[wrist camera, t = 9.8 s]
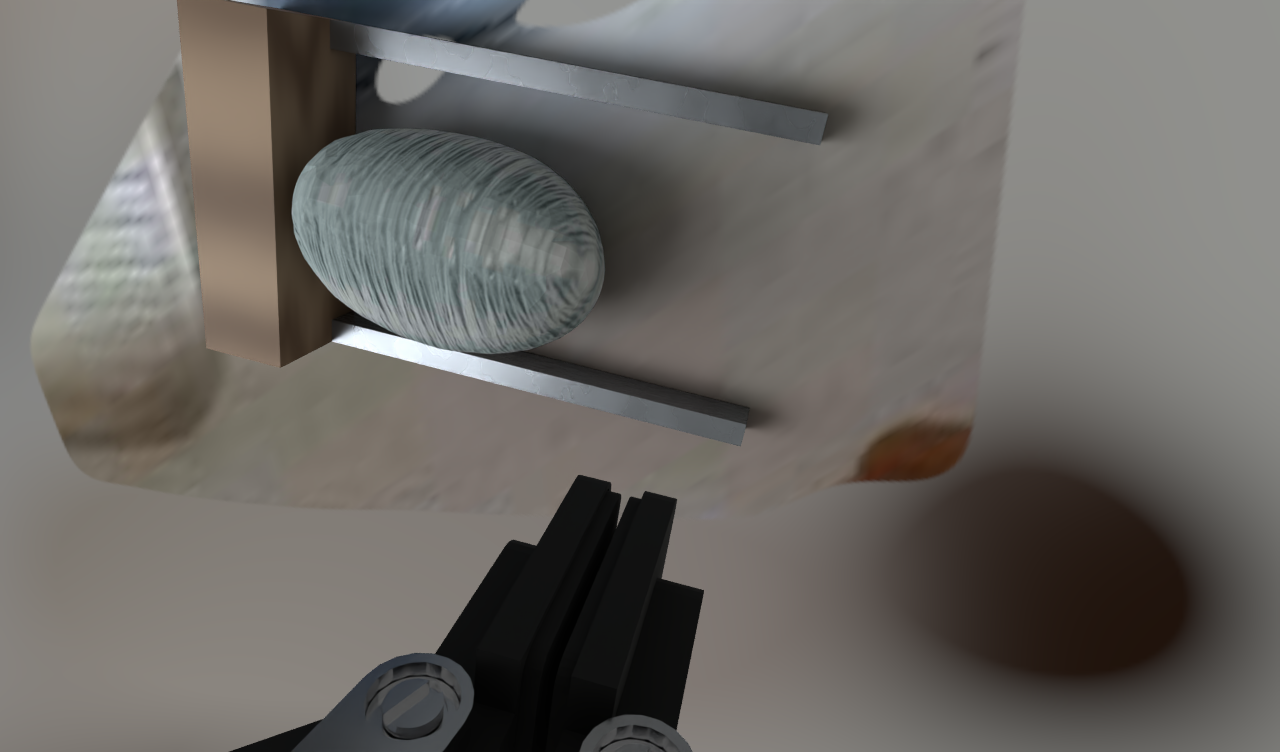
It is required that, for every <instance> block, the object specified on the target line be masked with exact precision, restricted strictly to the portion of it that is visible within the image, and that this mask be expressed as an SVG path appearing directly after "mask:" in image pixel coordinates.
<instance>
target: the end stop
mask: <svg viewBox="0 0 1280 752" xmlns="http://www.w3.org/2000/svg"><path fill="white" fill-rule="evenodd" d="M177 6H178V18H179V30H180V42H181V54H182V65H183V77H184V89H185V101H186V113H187V124H188V136H189V148H190V160H191V172H192V183H193V195H194V207H195V219H196V230H197V242H198V254H199V266H200V278H201V289H202V301H203V313H204V325H205V337H206V348H208V349H212V350H215V351H219V352H223V353H227V354H230V355H234V356H238V357H242V358H246V359H249V360H253V361H257V362H261V363H264V364H268V365H272V366H276V367H279V368H281V367H283V366H285V365H287V364H289V363H291V362H293V361H295V360H297V359H298V358H300V357H302V356H304V355H306V354H308V353H310V352H312V351H314V350H316V349H318V348H320V347H322V346H324V345H326V344H327V343H329V342H331V341H332V320H333V319H335V318H337V317H339V316H341V315H343V314H346V313H348V312H350V311H352V309H351V308H349V307H348V306H347V305H345V304H344V303H343V302H341V301H340V300H339V299H338V298H336V297H335V296H334V295H333V294H332V293H331V292H330V291H329V290H328V289H327V287H326V286H325V285H324V284H323V282H322V281H321V280H320V279H319V277H318V276H317V275H316V274H315V272H314V271H313V270H312V268H311V267H310V265H309V264H308V263H307V261H306V260H305V258H304V257H303V254H302V252H301V250H300V247H299V245H298V242H297V240H296V237H295V234H294V224H293V219H292V201H293V194H294V189H295V186H296V183H297V181H298V178H299V176H300V174H301V173H302V171H303V169H304V168H305V166H306V165H307V163H308V162H309V161H310V160H311V159H312V158H313V157H314V156H315V155H316V154H317V153H318V152H319V151H320V150H321V149H323V148H324V147H326V146H327V145H329V144H330V143H332V142H333V141H335V140H338V139H341V138H344V137H347V136H351V135H355V134H356V54H355V53H350V52H344V51H339V50H334V49H330V19H331V18H326V17H320V16H315V15H310V14H305V13H299V12H294V11H289V10H284V9H278V8H272V7H266V6H260V5H255V4H249V3H243V2H237V1H231V0H177ZM333 20H336V19H333ZM339 21H341V20H339ZM345 22H347V21H345ZM351 23H352V22H351Z"/></svg>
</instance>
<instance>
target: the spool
mask: <svg viewBox="0 0 1280 752" xmlns="http://www.w3.org/2000/svg"><path fill="white" fill-rule="evenodd" d="M292 219H293V224H294V234H295V237H296V240H297V242H298V245H299V247H300V250H301V252H302V254H303V257H304V258H305V260H306V261H307V263H308V264H309V265H310V267H311V268H312V270H313V271H314V272H315V274H316V275H317V276H318V277H319V279H320V280H321V281H322V282H323V284H324V285H325V286H326V287H327V289H328V290H329V291H330V292H331V293H332V294H333V295H334V296H335V297H336V298H338V299H339V300H340V301H341V302H343V303H344V304H345V305H347V306H348V307H349V308H351V309H352V310H354V311H355V312H356V313H358V314H359V315H361V316H362V317H364V318H366V319H368V320H370V321H372V322H374V323H376V324H378V325H380V326H381V327H383V328H385V329H387V330H389V331H391V332H393V333H395V334H398V335H400V336H403V337H405V338H408V339H411V340H413V341H416V342H419V343H422V344H425V345H428V346H432V347H435V348H439V349H444V350H449V351H457V352H475V353H481V354H497V353H509V352H516V351H523V350H529V349H533V348H536V347H539V346H542V345H544V344H547V343H550V342H552V341H554V340H557V339H559V338H561V337H562V336H564V335H565V334H567V333H569V332H570V331H572V330H573V329H574V328H575V327H577V326H578V325H579V324H580V323H581V322H582V321H583V320H584V319H585V318H586V316H587V315H588V314H589V313H590V311H591V310H592V309H593V307H594V305H595V303H596V302H597V300H598V298H599V295H600V292H601V289H602V286H603V281H604V274H605V263H604V252H603V246H602V243H601V238H600V233H599V230H598V228H597V225H596V223H595V221H594V219H593V217H592V215H591V214H590V212H589V210H588V208H587V207H586V205H585V204H584V202H583V201H582V199H581V198H580V197H579V196H578V194H577V193H576V192H575V191H574V190H573V189H572V187H571V186H570V185H569V184H568V183H567V182H566V181H565V180H564V179H563V178H562V177H560V176H559V175H558V174H556V173H555V172H554V171H553V170H552V169H550V168H549V167H548V166H546V165H544V164H543V163H542V162H540V161H539V160H537V159H535V158H533V157H531V156H529V155H527V154H525V153H523V152H520V151H518V150H515V149H513V148H510V147H508V146H505V145H502V144H500V143H497V142H494V141H490V140H487V139H483V138H479V137H474V136H469V135H464V134H458V133H451V132H445V131H439V130H427V129H376V130H368V131H365V132H362V133H359V134H355V135H351V136H347V137H344V138H341V139H338V140H335V141H333V142H332V143H330V144H329V145H327V146H326V147H324V148H323V149H321V150H320V151H319V152H318V153H317V154H316V155H315V156H314V157H313V158H312V159H311V160H310V161H309V162H308V163H307V165H306V166H305V168H304V169H303V171H302V173H301V174H300V176H299V178H298V181H297V183H296V186H295V189H294V194H293V201H292Z"/></svg>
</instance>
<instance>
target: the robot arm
mask: <svg viewBox="0 0 1280 752" xmlns="http://www.w3.org/2000/svg"><path fill="white" fill-rule="evenodd" d="M620 502H621V494H619V493H615V492H611V482H607V481H603V480H599V479H595V478H591V477H587V476H583V475H578V476H577V478H576V479H575V481H574V483H573V484H572V486H571V488H570V489H569V491H568V493H567V495H566V496H565V498H564V500H563V501H562V503H561V505H560V507H559V508H558V510H557V512H556V513H555V515H554V517H553V519H552V520H551V522H550V524H549V525H548V527H547V529H546V531H545V532H544V534H543V536H542V537H541V539H540V541H539V543H538V544H537V546H535V545H531V544H528V543H524V542H520V541H516V540H511V541H509V542H508V544H507V545H506V546H505V547H504V549H503V550H502V552H501V554H500V555H499V557H498V558H497V560H496V561H495V563H494V564H493V566H492V567H491V569H490V570H489V572H488V573H487V575H486V577H485V578H484V580H483V581H482V583H481V584H480V586H479V587H478V589H477V590H476V592H475V593H474V595H473V596H472V598H471V600H470V601H469V603H468V604H467V606H466V607H465V609H464V610H463V612H462V614H461V615H460V616H459V618H458V619H457V621H456V623H455V624H454V626H453V627H452V629H451V630H450V632H449V633H448V635H447V637H446V638H445V639H444V641H443V643H442V644H441V646H440V647H439V649H438V650H437V652H436V653H435V654H432V653H430V654H429V653H414V654H409V655H403V656H399V657H396V658H393V659H391V660H389V661H387V662H384V663H382V664H380V665H379V666H377V667H376V668H375V669H374V670H372V671H371V672H370V673H368V674H367V675H366V676H365V677H364V678H363V679H362V680H361V681H360V682H359V683H358V684H357V685H356V686H355V687H354V688H353V689H352V690H351V691H350V692H349V693H348V694H347V695H346V696H345V697H344V698H343V699H342V700H341V701H340V702H339V703H338V704H337V705H336V706H335V708H334V709H333V710H332V711H331V712H330V713H329V714H328V715H327V716H326V717H325V718H324V719H322V720H319V721H316V722H313V723H310V724H307V725H305V726H302V727H299V728H296V729H293V730H290V731H287V732H284V733H281V734H279V735H276V736H273V737H270V738H267V739H264V740H262V741H258V742H256V743H253V744H250V745H247V746H244V747H241V748H239V749H235V750H233V751H230V752H692V750H691V748H690V746H689V744H688V743H687V742H686V741H685V739H684V738H683V737H682V736H681V735H680V734H679V733H678V732H677V731H676V730H677V724H678V719H679V714H680V709H681V704H682V699H683V694H684V689H685V684H686V679H687V674H688V669H689V664H690V659H691V654H692V648H693V644H694V639H695V634H696V629H697V624H698V619H699V614H700V609H701V604H702V599H703V594H704V590H701V589H697V588H693V587H690V586H686V585H682V584H678V583H674V582H671V581H667V580H663V579H661V578H662V573H663V568H664V563H665V558H666V553H667V548H668V544H669V538H670V534H671V529H672V524H673V519H674V514H675V509H676V503H677V499H675V498H671V497H667V496H663V495H659V494H655V493H651V492H647V491H645V492H644V494H643V496H642V499H639V498H635V497H630V498H629V500H628V503H627V505H626V507H625V510H624V512H623V514H622V517H621V519H620V521H619V524H618V526H617V521H618V515H619V508H620ZM616 527H617V528H616Z"/></svg>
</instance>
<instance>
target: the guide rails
mask: <svg viewBox="0 0 1280 752" xmlns="http://www.w3.org/2000/svg"><path fill="white" fill-rule="evenodd" d="M330 49H334V50H339V51H344V52H350V53H355V54H360V55H365V56H370V57H375V58H380V59H385V60H390V61H395V62H401V63H405V64H410V65H416V66H421V67H426V68H431V69H436V70H441V71H446V72H451V73H456V74H461V75H466V76H471V77H476V78H482V79H487V80H492V81H497V82H502V83H507V84H512V85H517V86H522V87H527V88H532V89H537V90H542V91H547V92H553V93H558V94H563V95H568V96H573V97H578V98H583V99H588V100H593V101H598V102H603V103H608V104H613V105H619V106H624V107H629V108H634V109H639V110H644V111H649V112H654V113H659V114H664V115H669V116H674V117H679V118H685V119H690V120H695V121H700V122H705V123H710V124H715V125H720V126H725V127H730V128H735V129H740V130H745V131H751V132H756V133H761V134H766V135H771V136H776V137H781V138H786V139H791V140H796V141H801V142H806V143H811V144H816V145H820V144H821V140H822V136H823V133H824V129H825V125H826V121H827V117H828V114H827V113H824V112H818V111H813V110H808V109H803V108H797V107H792V106H787V105H782V104H776V103H771V102H766V101H761V100H756V99H750V98H745V97H740V96H735V95H729V94H724V93H719V92H714V91H708V90H703V89H698V88H693V87H687V86H682V85H677V84H672V83H666V82H661V81H656V80H651V79H645V78H640V77H635V76H630V75H624V74H619V73H614V72H609V71H603V70H598V69H593V68H588V67H583V66H577V65H572V64H567V63H562V62H556V61H551V60H546V59H541V58H535V57H530V56H525V55H520V54H514V53H509V52H504V51H499V50H493V49H488V48H483V47H478V46H472V45H467V44H462V43H457V42H451V41H446V40H441V39H436V38H430V37H425V36H420V35H415V34H410V33H404V32H399V31H394V30H389V29H383V28H378V27H373V26H368V25H362V24H357V23H351V22H345V21H339V20H333V19H330ZM332 341H333V342H337V343H341V344H345V345H349V346H353V347H357V348H360V349H364V350H368V351H372V352H376V353H380V354H384V355H388V356H391V357H395V358H399V359H403V360H407V361H411V362H415V363H419V364H423V365H426V366H430V367H434V368H438V369H442V370H446V371H450V372H454V373H458V374H461V375H465V376H469V377H473V378H477V379H481V380H485V381H489V382H492V383H496V384H500V385H504V386H508V387H512V388H516V389H520V390H524V391H527V392H531V393H535V394H539V395H543V396H547V397H551V398H555V399H558V400H562V401H566V402H570V403H574V404H578V405H582V406H586V407H590V408H593V409H597V410H601V411H605V412H609V413H613V414H617V415H621V416H625V417H628V418H632V419H636V420H640V421H644V422H648V423H652V424H656V425H659V426H663V427H667V428H671V429H675V430H679V431H683V432H687V433H691V434H694V435H698V436H702V437H706V438H710V439H714V440H718V441H722V442H725V443H729V444H733V445H737V446H741V443H742V439H743V435H744V432H745V428H746V424H747V418H748V412H749V408H747V407H743V406H739V405H735V404H731V403H727V402H723V401H719V400H715V399H711V398H707V397H703V396H699V395H695V394H691V393H687V392H683V391H679V390H675V389H671V388H667V387H663V386H659V385H655V384H651V383H647V382H643V381H639V380H635V379H631V378H627V377H623V376H619V375H615V374H611V373H607V372H603V371H599V370H595V369H591V368H587V367H583V366H579V365H575V364H571V363H567V362H563V361H559V360H555V359H551V358H547V357H543V356H539V355H535V354H531V353H527V352H523V351H516V352H509V353H497V354H481V353H475V352H457V351H449V350H444V349H439V348H435V347H432V346H428V345H425V344H422V343H419V342H416V341H413V340H411V339H408V338H405V337H403V336H400V335H398V334H395V333H393V332H391V331H389V330H387V329H385V328H383V327H381V326H380V325H378V324H376V323H374V322H372V321H370V320H368V319H366V318H364V317H362V316H361V315H359V314H358V313H356V312H355V311H354V310H352V311H350V312H348V313H346V314H343V315H341V316H339V317H337V318H335V319H333V320H332Z"/></svg>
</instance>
